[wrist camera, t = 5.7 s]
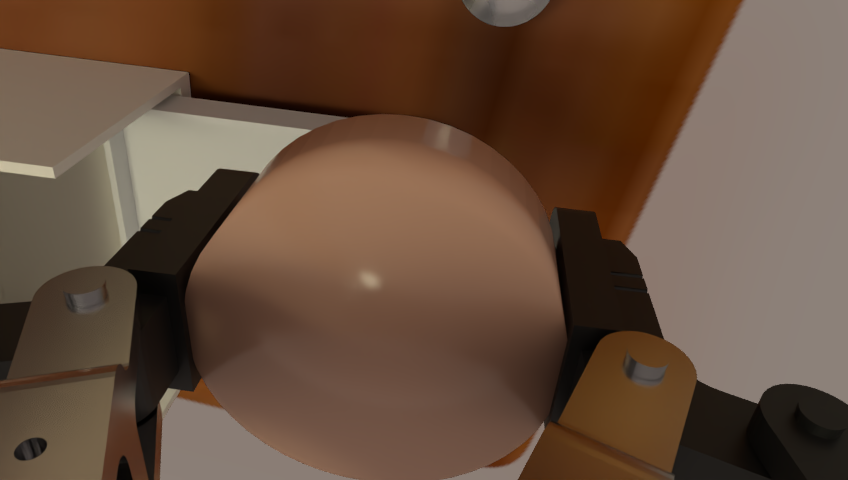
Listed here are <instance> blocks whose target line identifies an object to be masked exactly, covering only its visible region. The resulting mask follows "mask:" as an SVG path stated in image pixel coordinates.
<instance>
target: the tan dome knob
mask: <svg viewBox="0 0 848 480" xmlns="http://www.w3.org/2000/svg"><path fill="white" fill-rule="evenodd" d="M185 308H186V315H187V321H188V328H189V335H190V341H191V348H192V355H193V360H194V363H195V365H196V368H197V370H198V371H199V373H200V375H201V377H202V379H203V380H204V382H205V384H206V386H207V387H208V389H209V390H210V391H211V393H212V394H213V395H214V397H215V398H216V400H217V401H218V402H219V403H220V404H221V406H222V407H223V408H224V409H225V410H226V411H227V412H228V413H229V414H230V415H231V416H232V417H233V418H234V419H235V420H236V421H237V422H238V423H239V424H240V425H242V426H243V427H244V428H245V429H246V430H247V431H248V432H250V433H251V434H253V435H254V436H255V437H257V438H258V439H260V440H261V441H262V442H264V443H265V444H267V445H269V446H270V447H272V448H274V449H275V450H277V451H279V452H281V453H282V454H284V455H286V456H288V457H290V458H292V459H295V460H297V461H299V462H301V463H303V464H306V465H309V466H311V467H314V468H317V469H319V470H322V471H325V472H329V473H332V474H336V475H340V476H343V477H348V478H353V479H359V480H440V479H446V478H452V477H455V476H459V475H462V474H465V473H469V472H472V471H475V470H477V469H480V468H482V467H484V466H487V465H489V464H491V463H493V462H495V461H497V460H499V459H500V458H502V457H504V456H506V455H508V454H509V453H510V452H512V451H513V450H515V449H516V448H517V447H519V446H520V445H521V444H523V443H524V442H525V441H526V440H527V439H528V438H529V437H530V436H531V435H532V434H533V433H534V432H536V431H537V430H538V428H539V427H540V426H541V424H542V423H543V422H544V421H545V419H546V418H547V417H548V415H549V413H550V409H551V405H552V401H553V397H554V393H555V389H556V385H557V381H558V376H559V372H560V368H561V364H562V360H563V356H564V352H565V348H566V344H567V340H568V339H567V332H566V324H565V317H564V309H563V302H562V294H561V287H560V280H559V272H558V265H557V257H556V250H555V244H554V238H553V233H552V229H551V226H550V223H549V220H548V217H547V214H546V212H545V210H544V208H543V206H542V204H541V202H540V200H539V198H538V196H537V194H536V193H535V191H534V190H533V189H532V187H531V186H530V185H529V183H528V182H527V180H526V179H525V178H524V176H523V175H522V174H521V173H520V172H519V171H518V170H517V169H516V168H515V167H514V166H513V165H512V164H511V163H510V162H509V161H508V160H507V159H505V158H504V157H503V156H502V155H501V154H499V153H498V152H497V151H496V150H494V149H493V148H492V147H490V146H488V145H487V144H485V143H484V142H482V141H480V140H479V139H477V138H475V137H474V136H472V135H470V134H468V133H465V132H463V131H461V130H459V129H456V128H454V127H452V126H449V125H446V124H443V123H439V122H436V121H433V120H430V119H425V118H419V117H413V116H408V115H393V114H375V115H362V116H355V117H351V118H346V119H341V120H337V121H334V122H331V123H328V124H326V125H323V126H320V127H317V128H315V129H313V130H311V131H310V132H308V133H306V134H304V135H302V136H300V137H298V138H297V139H295V140H294V141H293V142H291V143H290V144H289V145H287V146H286V147H285V148H283V149H282V150H281V151H280V152H279V153H278V154H277V155H276V156H275V157H274V158H273V159H272V160H271V161H270V162H269V163H268V164H267V165H266V167H265V168H264V169H263V171H262V172H261V173H260V175H259V176H258V177H257V179H256V180H255V181H254V183H253V184H252V185H251V187H250V188H249V189H248V191H247V192H246V193H245V194H244V196H243V197H242V198H241V200H240V201H239V202H238V204H237V205H236V206H235V208H234V209H233V210H232V212H231V213H230V214H229V216H228V217H227V218H226V220H225V221H224V222H223V223H222V225H221V226H220V227H219V229H218V230H217V231H216V233H215V234H214V235H213V237H212V238H211V239H210V241H209V242H208V244H207V245H206V246H205V248H204V249H203V251H202V252H201V253H200V255H199V257H198V259H197V261H196V263H195V265H194V267H193V270H192V272H191V274H190V278H189V282H188V285H187V289H186V293H185Z"/></svg>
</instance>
